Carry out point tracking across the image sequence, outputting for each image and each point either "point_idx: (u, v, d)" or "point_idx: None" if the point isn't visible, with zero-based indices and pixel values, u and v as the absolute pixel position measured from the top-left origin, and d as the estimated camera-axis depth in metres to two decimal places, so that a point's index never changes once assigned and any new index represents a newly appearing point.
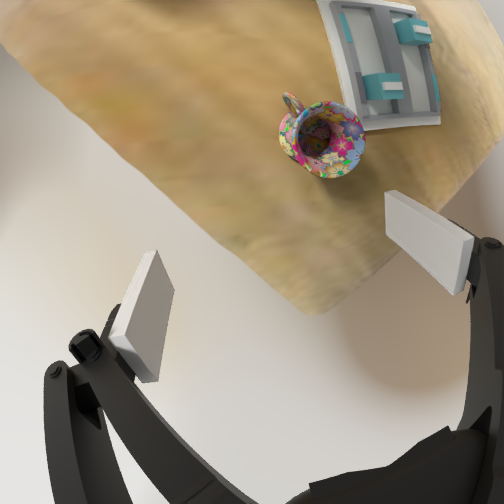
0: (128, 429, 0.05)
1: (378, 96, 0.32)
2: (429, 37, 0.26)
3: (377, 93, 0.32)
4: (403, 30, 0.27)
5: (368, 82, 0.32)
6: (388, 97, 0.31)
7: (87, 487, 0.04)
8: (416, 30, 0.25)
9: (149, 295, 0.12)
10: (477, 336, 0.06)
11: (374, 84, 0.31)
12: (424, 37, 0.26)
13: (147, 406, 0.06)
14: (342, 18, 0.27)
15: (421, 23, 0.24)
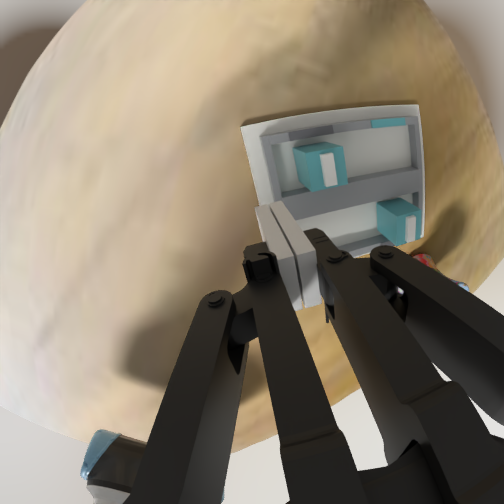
0: (275, 356, 0.07)
1: None
2: (335, 151, 0.25)
3: None
4: None
5: None
6: (419, 231, 0.30)
7: (199, 438, 0.05)
8: (334, 184, 0.26)
9: None
10: (357, 362, 0.07)
11: None
12: (339, 164, 0.26)
13: (304, 341, 0.07)
14: None
15: (313, 165, 0.25)
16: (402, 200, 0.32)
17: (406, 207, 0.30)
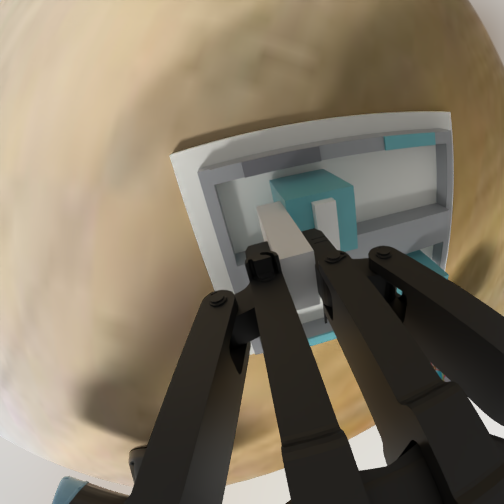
0: (277, 355, 0.07)
1: None
2: (340, 195, 0.15)
3: None
4: None
5: None
6: None
7: (200, 438, 0.05)
8: None
9: None
10: (356, 362, 0.07)
11: None
12: (345, 217, 0.15)
13: (306, 340, 0.07)
14: None
15: (300, 221, 0.15)
16: (420, 254, 0.22)
17: None
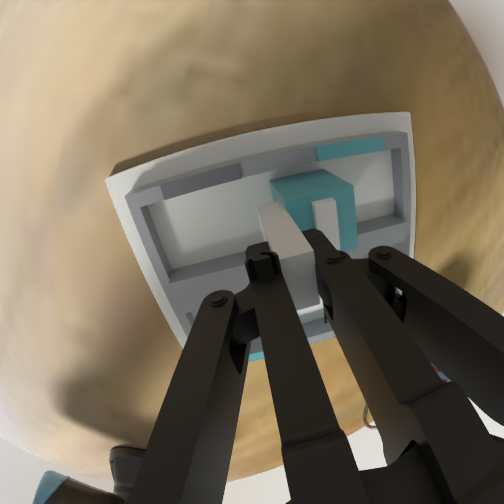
0: (277, 355, 0.07)
1: None
2: (340, 195, 0.15)
3: None
4: None
5: None
6: None
7: (200, 438, 0.05)
8: None
9: None
10: (356, 362, 0.07)
11: None
12: (345, 217, 0.15)
13: (306, 340, 0.07)
14: None
15: (300, 221, 0.15)
16: None
17: None
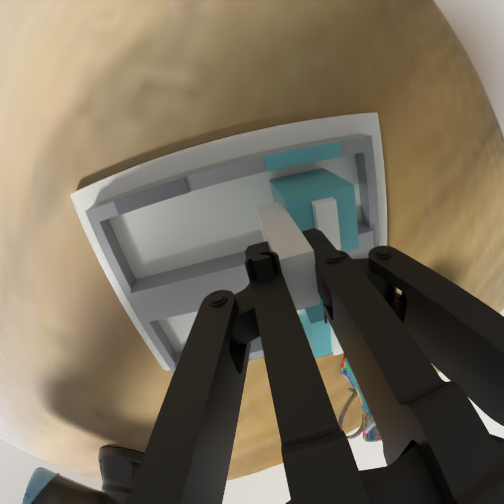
0: (277, 355, 0.07)
1: None
2: (340, 195, 0.14)
3: None
4: None
5: None
6: None
7: (200, 438, 0.05)
8: None
9: None
10: (356, 362, 0.07)
11: None
12: (345, 216, 0.15)
13: (306, 340, 0.07)
14: None
15: (300, 221, 0.15)
16: None
17: None
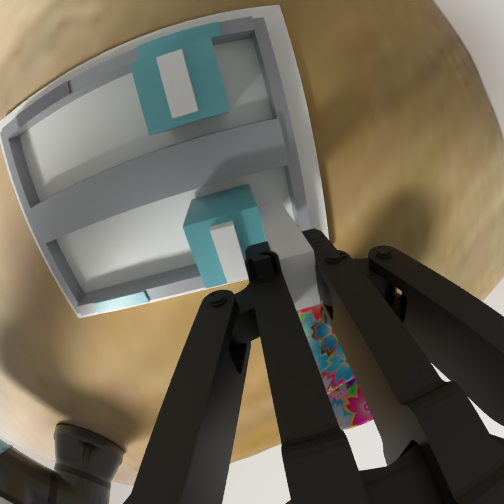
0: (277, 355, 0.07)
1: None
2: (194, 49, 0.10)
3: None
4: (191, 122, 0.14)
5: None
6: None
7: (200, 438, 0.05)
8: (193, 110, 0.11)
9: None
10: (356, 362, 0.07)
11: None
12: (204, 72, 0.11)
13: (306, 340, 0.07)
14: (103, 308, 0.20)
15: (148, 82, 0.10)
16: (244, 189, 0.17)
17: (230, 203, 0.15)
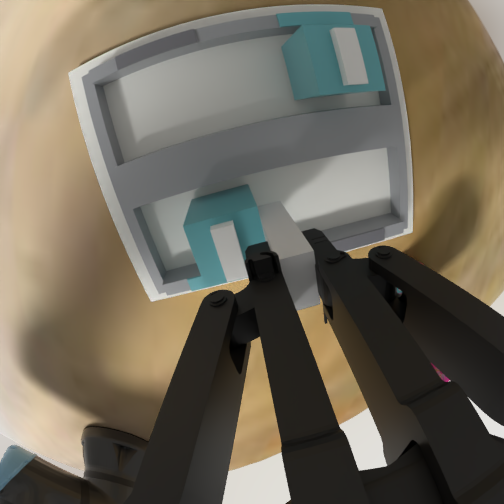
0: (277, 355, 0.07)
1: None
2: (358, 31, 0.10)
3: None
4: (334, 94, 0.14)
5: None
6: None
7: (200, 438, 0.05)
8: (363, 82, 0.11)
9: None
10: (356, 362, 0.07)
11: None
12: (367, 52, 0.11)
13: (306, 340, 0.07)
14: (200, 284, 0.20)
15: (320, 47, 0.11)
16: (243, 189, 0.18)
17: (230, 203, 0.16)
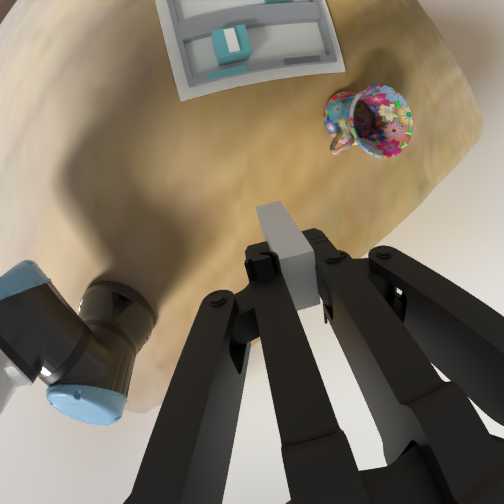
0: (277, 355, 0.07)
1: (247, 54, 0.27)
2: None
3: (243, 55, 0.27)
4: None
5: (227, 61, 0.29)
6: (247, 44, 0.26)
7: (200, 438, 0.05)
8: None
9: None
10: (356, 362, 0.07)
11: (232, 58, 0.28)
12: None
13: (306, 340, 0.07)
14: (215, 76, 0.30)
15: None
16: None
17: None
